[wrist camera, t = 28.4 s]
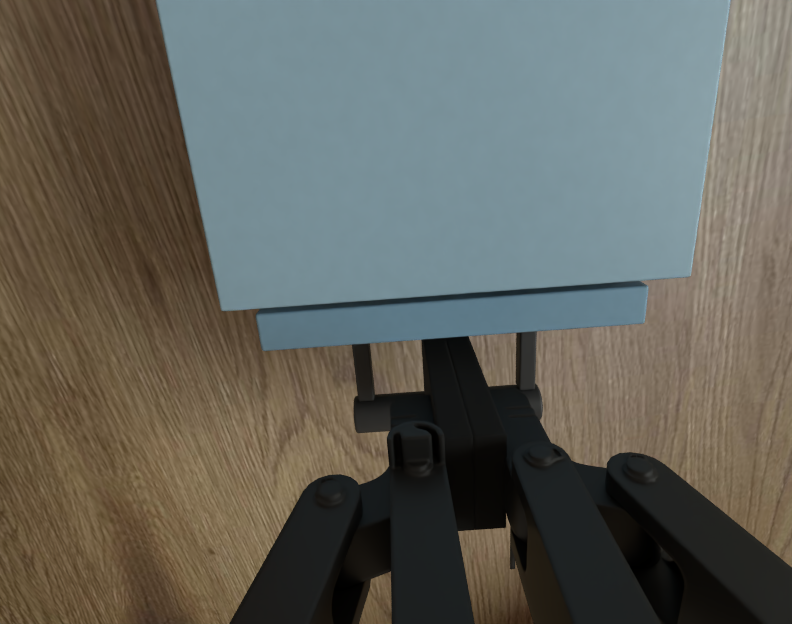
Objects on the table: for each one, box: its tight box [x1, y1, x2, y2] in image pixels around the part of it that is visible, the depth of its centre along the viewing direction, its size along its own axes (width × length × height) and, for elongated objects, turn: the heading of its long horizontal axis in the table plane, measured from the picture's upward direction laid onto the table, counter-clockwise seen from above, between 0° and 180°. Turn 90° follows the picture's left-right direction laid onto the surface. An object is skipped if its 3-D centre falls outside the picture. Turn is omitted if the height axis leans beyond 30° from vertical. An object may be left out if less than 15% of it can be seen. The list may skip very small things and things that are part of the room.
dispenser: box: [155, 0, 731, 311], centre depth 15 cm, size 15×13×10 cm
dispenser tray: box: [256, 281, 648, 433], centre depth 16 cm, size 18×11×8 cm, turn 4°
